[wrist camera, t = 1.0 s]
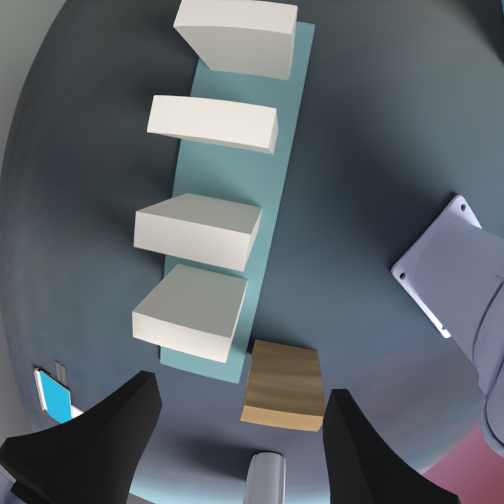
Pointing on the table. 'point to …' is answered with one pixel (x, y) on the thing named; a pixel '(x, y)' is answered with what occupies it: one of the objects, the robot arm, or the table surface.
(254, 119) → the cream domino
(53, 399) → the phone stand
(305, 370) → the ochre domino
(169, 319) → the cream domino
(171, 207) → the cream domino
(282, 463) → the photo printer
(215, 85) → the teal mat
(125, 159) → the table surface
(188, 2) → the cream domino
